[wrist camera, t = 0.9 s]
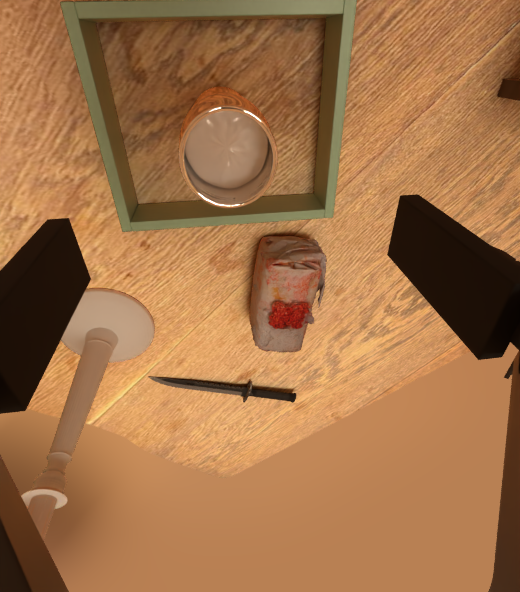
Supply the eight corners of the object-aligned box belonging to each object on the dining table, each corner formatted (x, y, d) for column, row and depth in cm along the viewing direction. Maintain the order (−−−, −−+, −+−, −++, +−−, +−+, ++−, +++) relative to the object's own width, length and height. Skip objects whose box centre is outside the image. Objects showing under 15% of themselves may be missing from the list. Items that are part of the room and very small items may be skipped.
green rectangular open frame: (79, 7, 29) (59, 1, 25) (338, 3, 31) (357, -3, 27) (131, 213, 40) (122, 232, 36) (321, 200, 41) (333, 217, 37)
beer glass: (204, 167, 38) (202, 224, 25) (174, 97, 33) (155, 126, 21) (265, 143, 37) (293, 191, 25) (242, 68, 33) (262, 82, 21)
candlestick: (34, 304, 45) (-168, 607, 21) (128, 276, 44) (31, 557, 20) (88, 368, 52) (-14, 645, 28) (169, 345, 52) (135, 609, 28)
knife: (145, 393, 56) (147, 374, 53) (147, 383, 57) (149, 364, 54) (290, 410, 61) (299, 394, 58) (289, 401, 63) (298, 384, 60)
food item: (253, 227, 42) (264, 269, 34) (317, 229, 44) (341, 271, 36) (245, 315, 50) (252, 366, 42) (298, 315, 51) (315, 365, 43)
